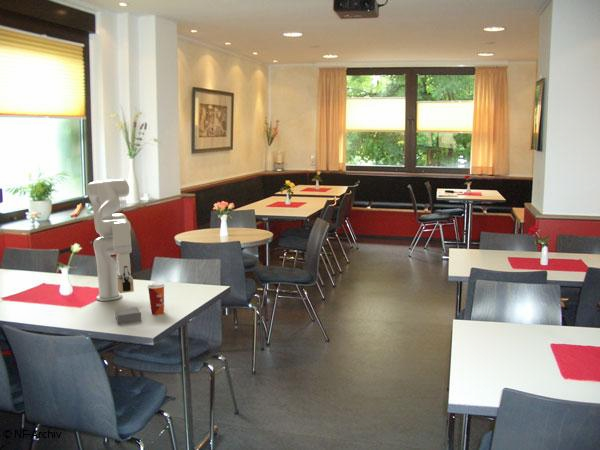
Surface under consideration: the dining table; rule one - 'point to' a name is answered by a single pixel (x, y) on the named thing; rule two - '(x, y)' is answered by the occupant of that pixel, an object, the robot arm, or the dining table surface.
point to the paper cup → (156, 297)
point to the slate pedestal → (127, 315)
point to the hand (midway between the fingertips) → (125, 288)
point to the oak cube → (120, 284)
